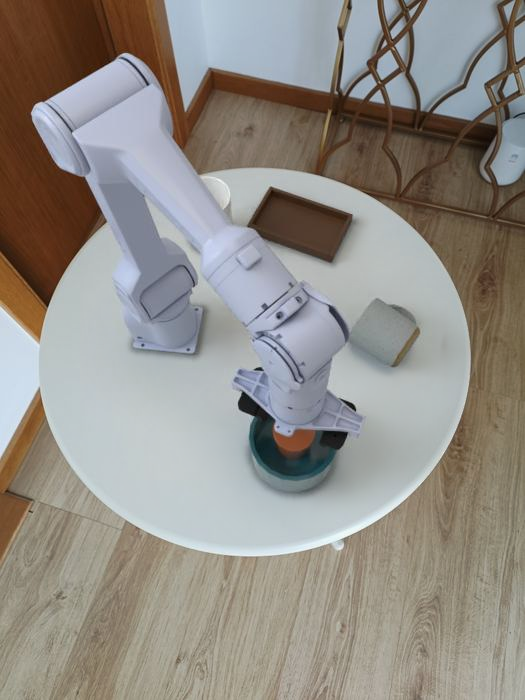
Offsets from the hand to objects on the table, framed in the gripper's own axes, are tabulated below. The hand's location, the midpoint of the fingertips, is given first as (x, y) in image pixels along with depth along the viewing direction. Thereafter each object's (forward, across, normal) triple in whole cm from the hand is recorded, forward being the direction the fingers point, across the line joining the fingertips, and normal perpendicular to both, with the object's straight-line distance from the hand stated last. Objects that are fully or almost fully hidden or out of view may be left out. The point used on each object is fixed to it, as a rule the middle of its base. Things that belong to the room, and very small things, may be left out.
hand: (295, 426), depth 64 cm
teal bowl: (+11, 0, 0) cm, 11 cm away
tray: (+10, -14, +36) cm, 40 cm away
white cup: (+10, -27, +28) cm, 40 cm away
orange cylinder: (+7, 0, 0) cm, 7 cm away
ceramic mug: (+11, +6, +22) cm, 25 cm away
